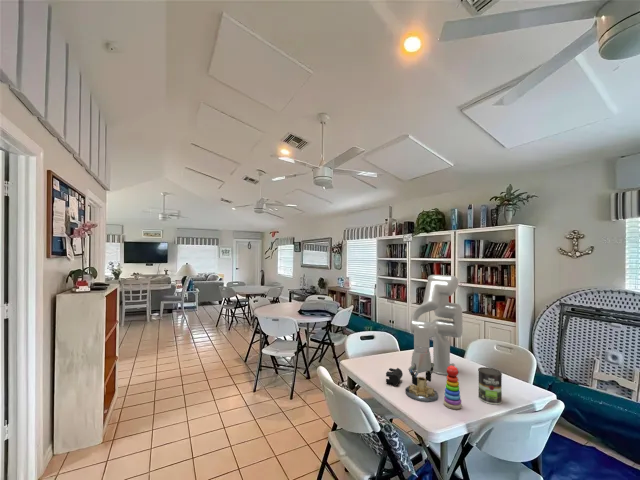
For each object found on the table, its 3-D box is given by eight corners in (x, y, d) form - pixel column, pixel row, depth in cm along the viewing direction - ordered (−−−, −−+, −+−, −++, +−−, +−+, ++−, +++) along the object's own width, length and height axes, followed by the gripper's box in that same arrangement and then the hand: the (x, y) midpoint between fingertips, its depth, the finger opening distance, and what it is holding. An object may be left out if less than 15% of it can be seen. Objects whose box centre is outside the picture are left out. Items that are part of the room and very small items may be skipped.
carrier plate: (420, 385, 163) (420, 378, 163) (445, 397, 149) (445, 390, 149) (398, 390, 156) (398, 383, 156) (422, 404, 142) (422, 396, 142)
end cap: (398, 387, 160) (398, 374, 160) (385, 384, 163) (385, 372, 164) (402, 380, 169) (402, 368, 169) (390, 378, 172) (390, 366, 172)
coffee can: (504, 406, 141) (503, 376, 142) (479, 402, 145) (479, 372, 146) (499, 397, 151) (499, 368, 152) (477, 393, 155) (476, 365, 156)
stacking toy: (440, 401, 145) (440, 362, 146) (456, 401, 146) (455, 362, 147) (448, 410, 137) (448, 368, 138) (465, 409, 138) (465, 368, 139)
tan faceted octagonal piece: (421, 384, 161) (421, 372, 161) (439, 394, 150) (439, 381, 150) (403, 389, 155) (403, 376, 156) (422, 399, 144) (422, 386, 145)
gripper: (427, 344, 161) (427, 377, 160) (403, 349, 153) (403, 383, 152) (439, 348, 154) (439, 382, 153) (414, 353, 146) (414, 389, 145)
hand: (421, 382), depth 153 cm, fingers open, 9 cm apart
